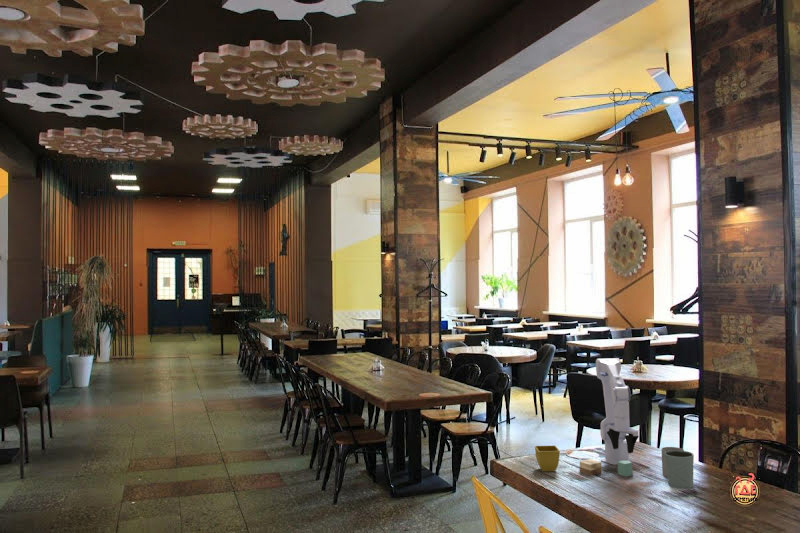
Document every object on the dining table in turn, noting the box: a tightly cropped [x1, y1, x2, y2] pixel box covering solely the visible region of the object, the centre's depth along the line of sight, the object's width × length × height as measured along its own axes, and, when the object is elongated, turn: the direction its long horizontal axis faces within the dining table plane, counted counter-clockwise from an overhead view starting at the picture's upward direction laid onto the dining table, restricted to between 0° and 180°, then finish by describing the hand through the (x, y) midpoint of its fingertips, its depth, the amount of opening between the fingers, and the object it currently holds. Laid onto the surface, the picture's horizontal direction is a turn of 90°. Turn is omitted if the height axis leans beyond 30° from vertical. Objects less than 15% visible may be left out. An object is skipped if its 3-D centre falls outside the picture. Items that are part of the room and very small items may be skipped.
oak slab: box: [579, 458, 602, 470], centre depth 269 cm, size 6×6×2 cm
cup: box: [661, 446, 685, 478], centre depth 262 cm, size 8×8×10 cm
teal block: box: [617, 460, 634, 477], centre depth 264 cm, size 4×4×5 cm
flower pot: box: [534, 445, 561, 472], centre depth 273 cm, size 9×9×9 cm
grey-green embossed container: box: [665, 450, 695, 490], centre depth 249 cm, size 10×10×12 cm
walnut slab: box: [579, 466, 602, 476], centre depth 269 cm, size 6×6×2 cm
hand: (623, 450), depth 265 cm, fingers open, 7 cm apart
